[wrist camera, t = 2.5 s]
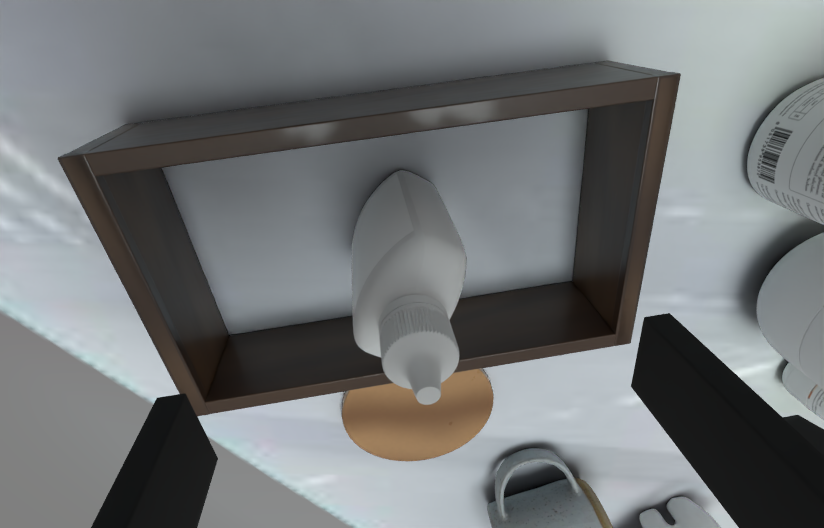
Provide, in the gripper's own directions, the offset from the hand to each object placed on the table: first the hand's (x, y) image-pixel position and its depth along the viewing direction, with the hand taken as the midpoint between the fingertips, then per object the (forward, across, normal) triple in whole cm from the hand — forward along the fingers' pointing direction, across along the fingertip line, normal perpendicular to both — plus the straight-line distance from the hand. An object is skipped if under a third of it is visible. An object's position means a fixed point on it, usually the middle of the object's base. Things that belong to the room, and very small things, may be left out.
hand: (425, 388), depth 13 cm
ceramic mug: (+12, +8, -25) cm, 28 cm away
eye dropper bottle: (+12, 0, 0) cm, 12 cm away
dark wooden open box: (+12, 0, 0) cm, 12 cm away
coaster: (+12, 0, -13) cm, 17 cm away
